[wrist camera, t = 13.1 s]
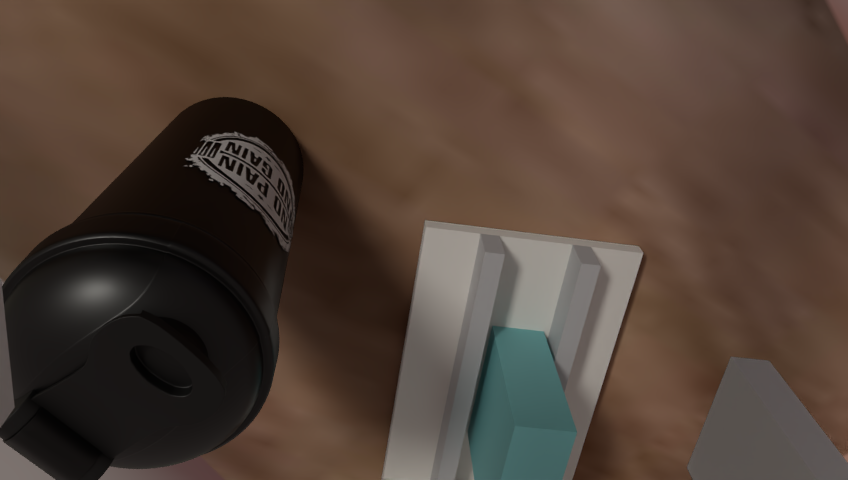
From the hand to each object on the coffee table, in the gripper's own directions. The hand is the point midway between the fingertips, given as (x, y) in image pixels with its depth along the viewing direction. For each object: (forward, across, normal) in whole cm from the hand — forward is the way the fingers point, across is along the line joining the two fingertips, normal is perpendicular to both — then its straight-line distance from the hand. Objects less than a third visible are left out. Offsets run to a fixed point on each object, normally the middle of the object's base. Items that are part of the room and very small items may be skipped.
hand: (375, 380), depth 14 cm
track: (+32, +11, -22) cm, 40 cm away
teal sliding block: (+31, +11, -22) cm, 39 cm away
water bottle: (+32, -8, -9) cm, 34 cm away
